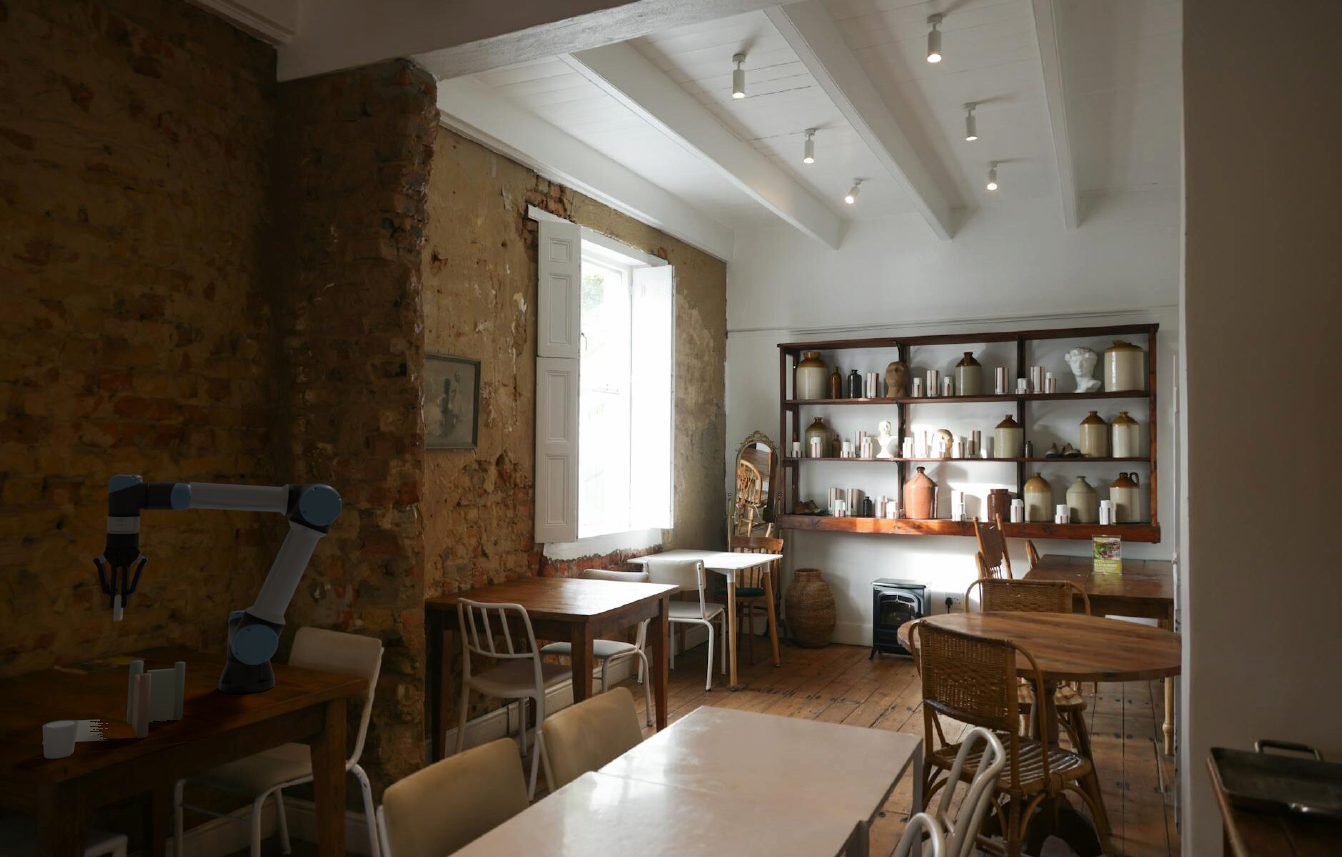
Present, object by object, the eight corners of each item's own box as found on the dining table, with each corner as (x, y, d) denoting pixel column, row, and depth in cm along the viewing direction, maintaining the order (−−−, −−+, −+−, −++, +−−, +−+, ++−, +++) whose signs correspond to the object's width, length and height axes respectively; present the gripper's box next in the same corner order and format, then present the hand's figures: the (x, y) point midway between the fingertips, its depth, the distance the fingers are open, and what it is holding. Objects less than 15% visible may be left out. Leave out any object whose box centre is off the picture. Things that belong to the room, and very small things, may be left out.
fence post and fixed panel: (125, 726, 224) (129, 663, 224) (126, 723, 226) (130, 660, 227) (182, 721, 229) (185, 659, 230) (182, 718, 232) (185, 657, 233)
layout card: (156, 718, 232) (156, 716, 232) (137, 739, 215) (137, 738, 215) (67, 722, 226) (67, 720, 226) (41, 744, 208) (41, 743, 208)
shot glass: (80, 755, 203) (82, 724, 203) (45, 761, 198) (46, 730, 198) (71, 747, 207) (73, 717, 208) (36, 754, 202) (38, 723, 203)
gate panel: (129, 724, 224) (132, 664, 224) (139, 722, 225) (143, 663, 226) (137, 738, 213) (140, 676, 214) (148, 737, 215) (152, 675, 215)
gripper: (90, 533, 232) (85, 623, 231) (146, 533, 236) (141, 622, 235) (99, 530, 239) (94, 618, 238) (153, 531, 243) (149, 617, 242)
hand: (117, 620), depth 236 cm, fingers closed
